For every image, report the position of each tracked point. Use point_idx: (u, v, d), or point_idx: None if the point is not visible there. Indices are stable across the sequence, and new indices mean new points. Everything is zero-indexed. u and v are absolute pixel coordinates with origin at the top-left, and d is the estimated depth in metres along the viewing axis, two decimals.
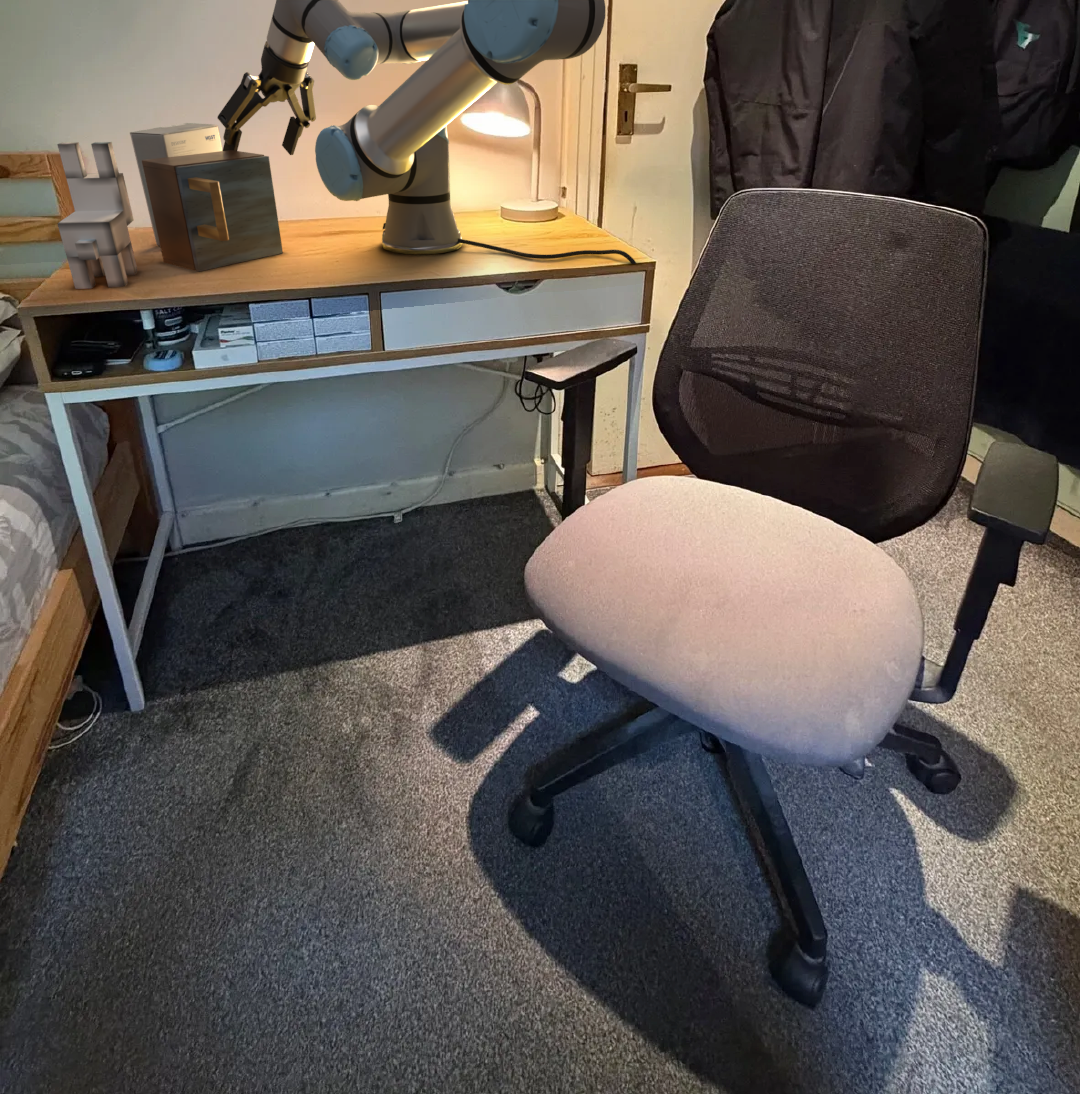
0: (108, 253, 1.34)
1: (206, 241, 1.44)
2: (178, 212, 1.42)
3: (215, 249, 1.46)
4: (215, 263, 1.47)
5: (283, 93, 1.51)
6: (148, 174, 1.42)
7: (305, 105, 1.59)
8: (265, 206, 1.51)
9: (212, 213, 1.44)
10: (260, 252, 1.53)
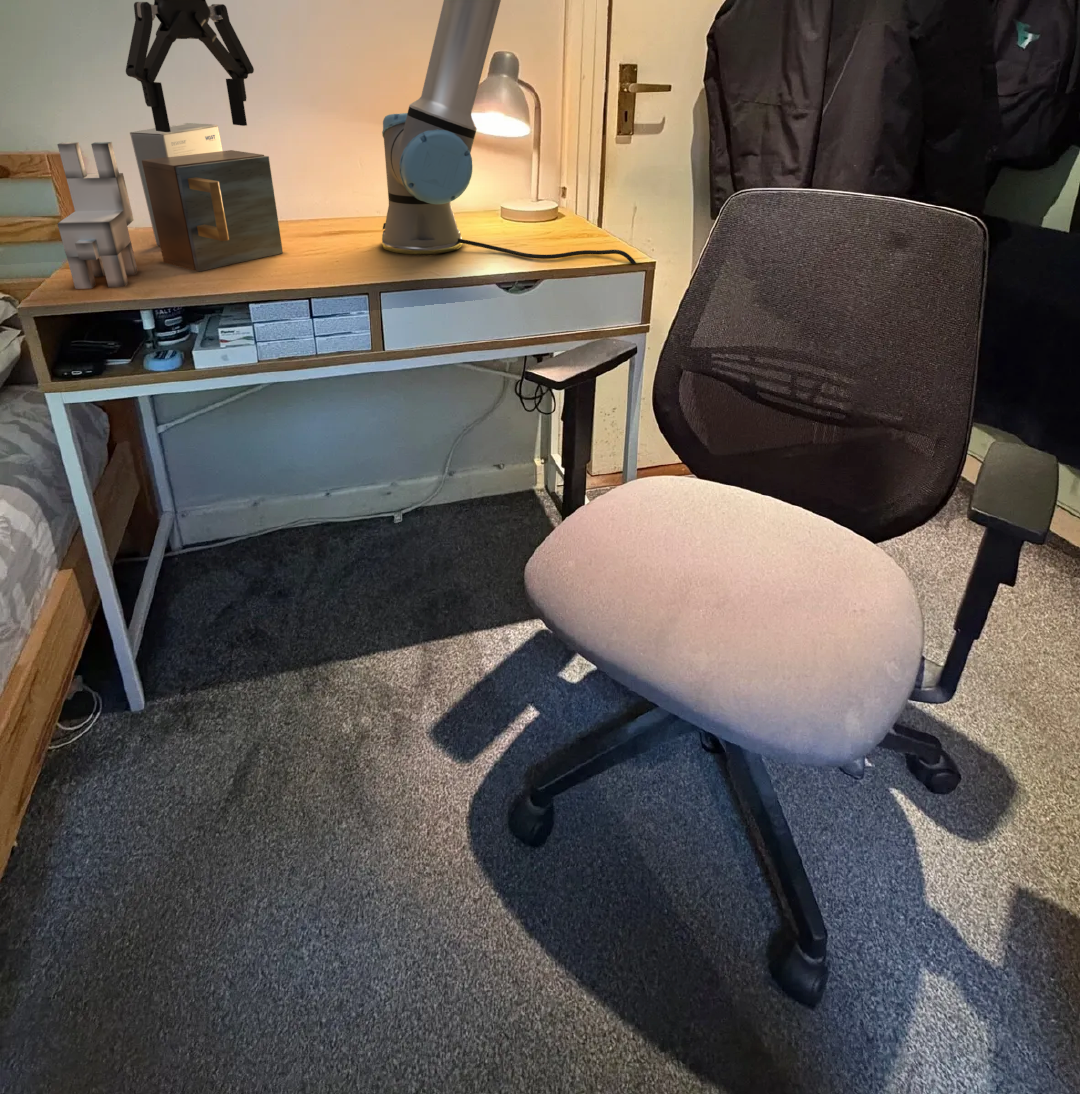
0: (108, 253, 1.34)
1: (206, 241, 1.44)
2: (178, 212, 1.42)
3: (215, 249, 1.46)
4: (215, 263, 1.47)
5: (193, 24, 1.24)
6: (148, 174, 1.42)
7: (234, 53, 1.32)
8: (265, 206, 1.51)
9: (212, 213, 1.44)
10: (260, 252, 1.53)
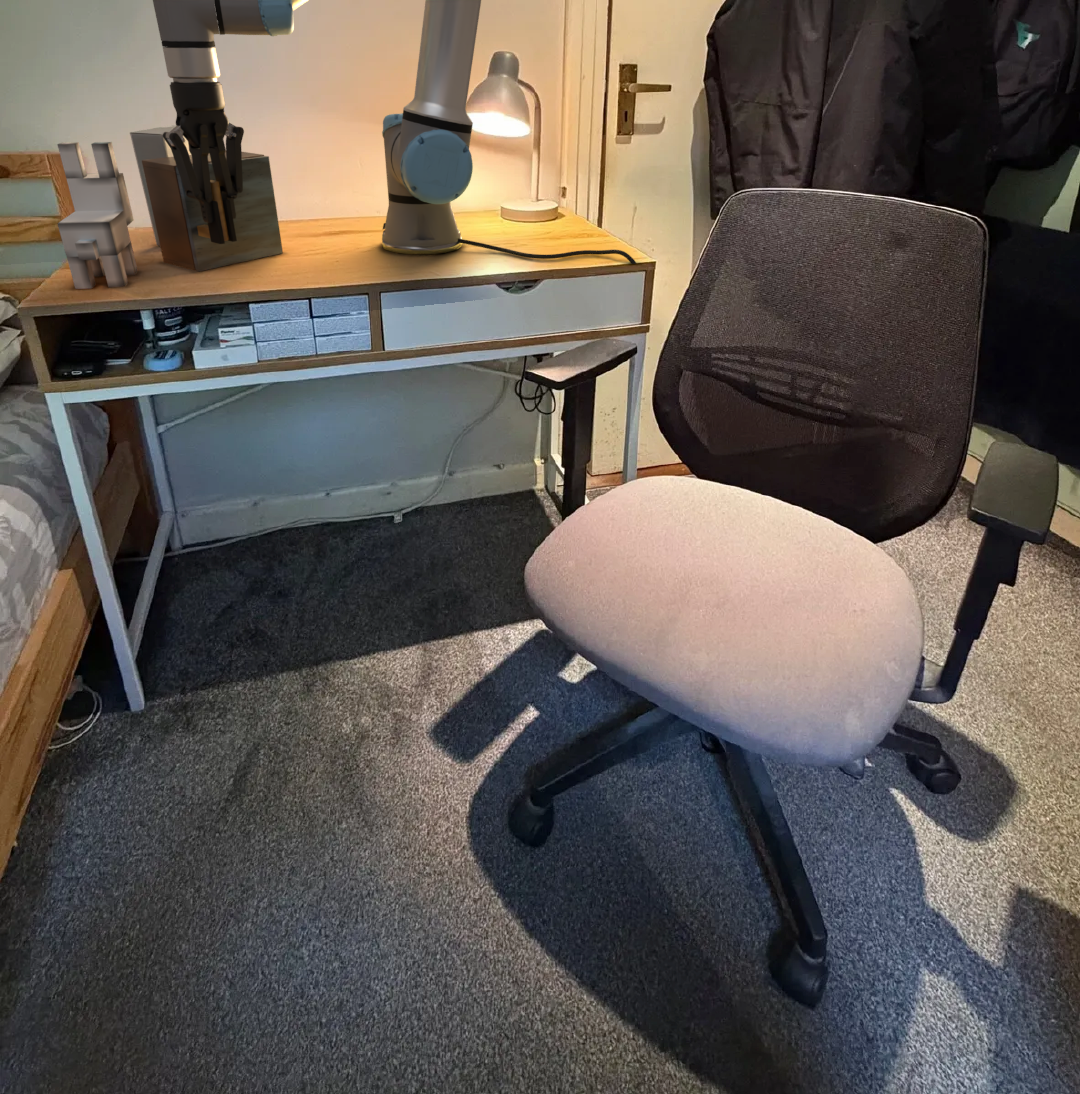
0: (108, 253, 1.34)
1: (206, 241, 1.44)
2: (178, 212, 1.42)
3: (215, 249, 1.46)
4: (215, 263, 1.47)
5: (213, 134, 1.32)
6: (148, 174, 1.42)
7: (231, 170, 1.37)
8: (265, 206, 1.51)
9: None
10: (260, 252, 1.53)
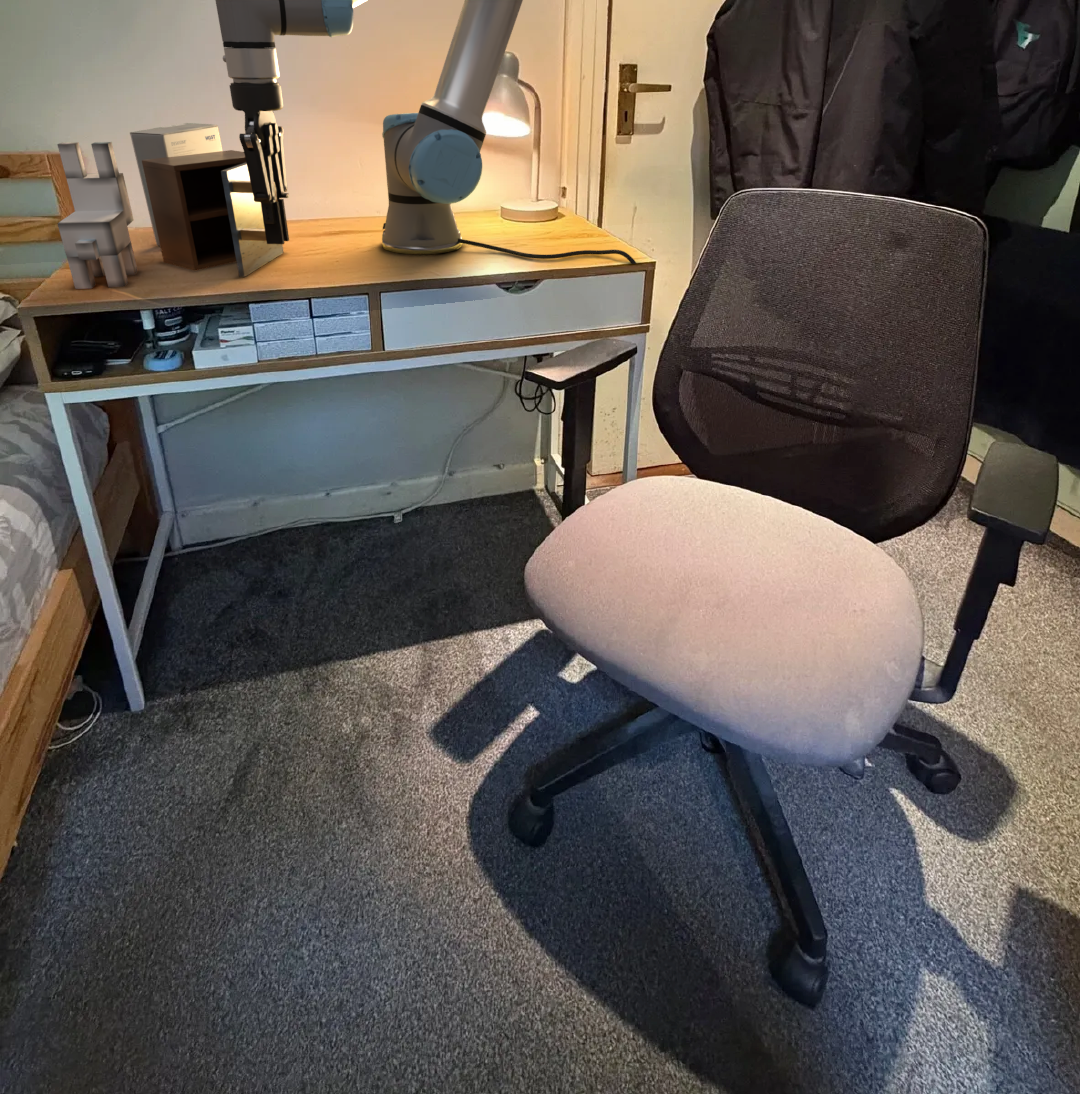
0: (108, 253, 1.34)
1: (246, 245, 1.42)
2: (178, 212, 1.42)
3: (251, 253, 1.44)
4: (252, 267, 1.45)
5: None
6: (148, 174, 1.42)
7: None
8: None
9: (246, 216, 1.42)
10: (273, 253, 1.53)
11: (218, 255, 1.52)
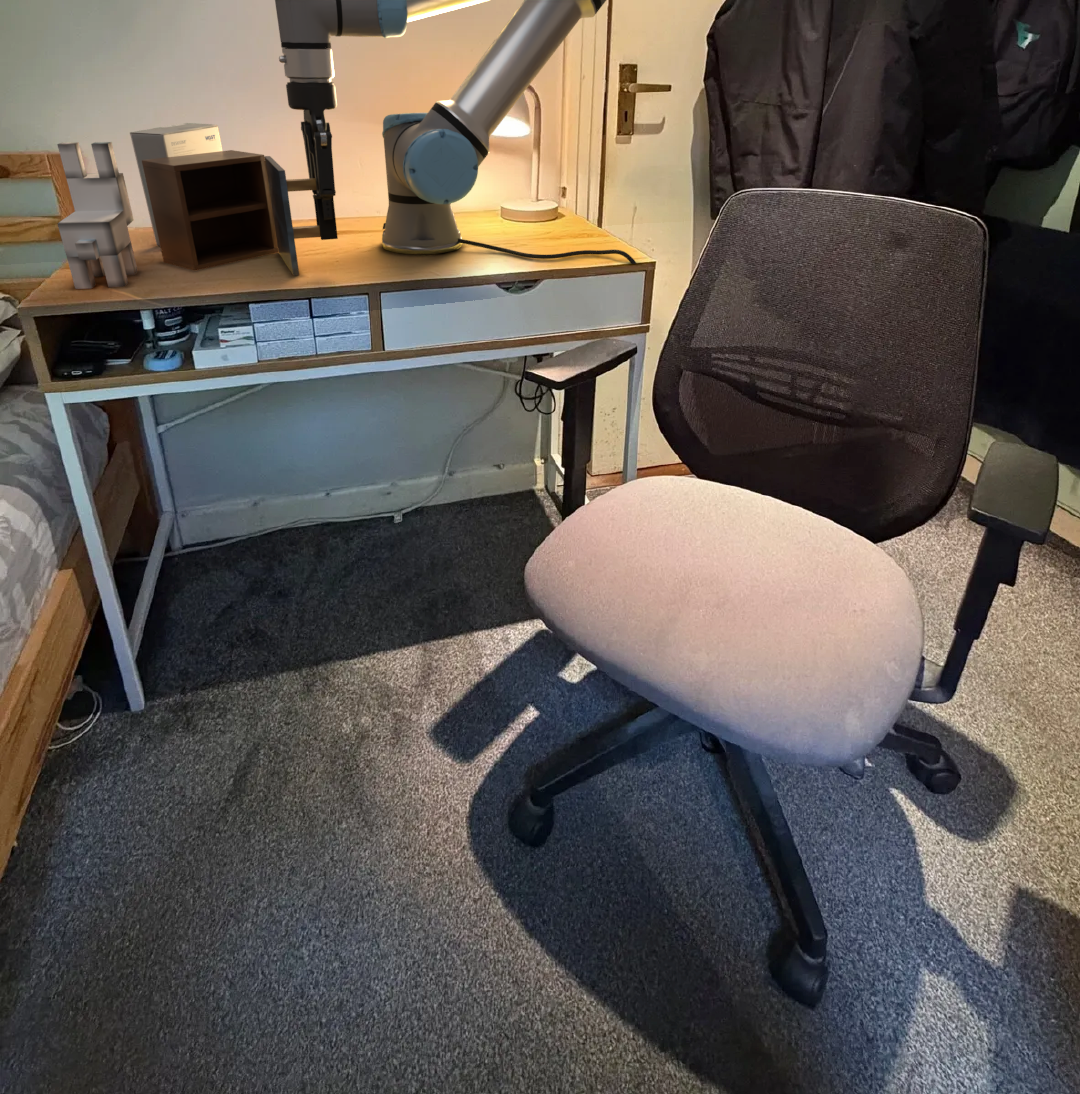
0: (108, 253, 1.34)
1: None
2: (178, 212, 1.42)
3: None
4: None
5: None
6: (148, 174, 1.42)
7: None
8: None
9: None
10: None
11: (218, 255, 1.52)
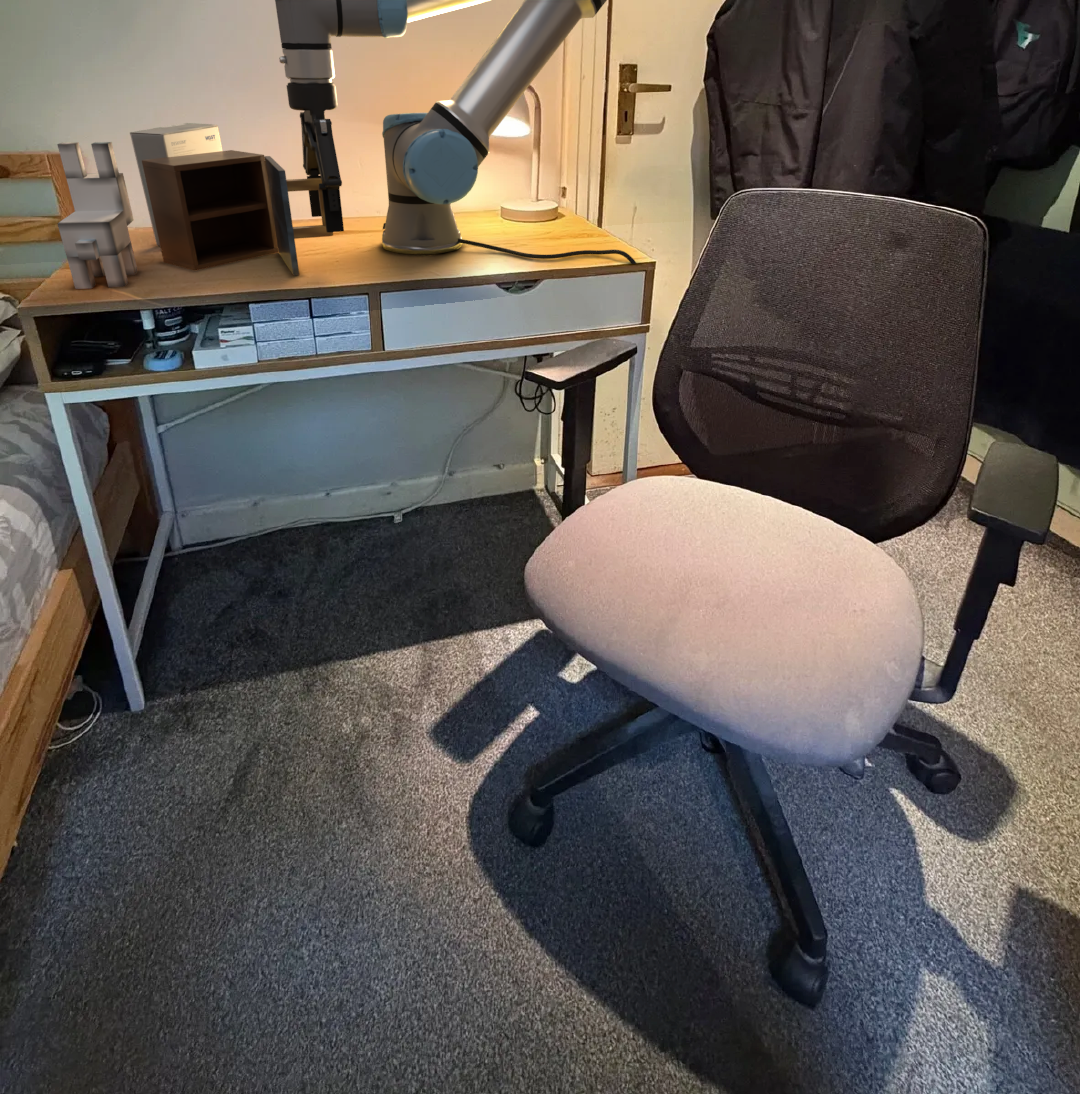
0: (108, 253, 1.34)
1: None
2: (178, 212, 1.42)
3: None
4: None
5: None
6: (148, 174, 1.42)
7: None
8: None
9: None
10: None
11: (218, 255, 1.52)
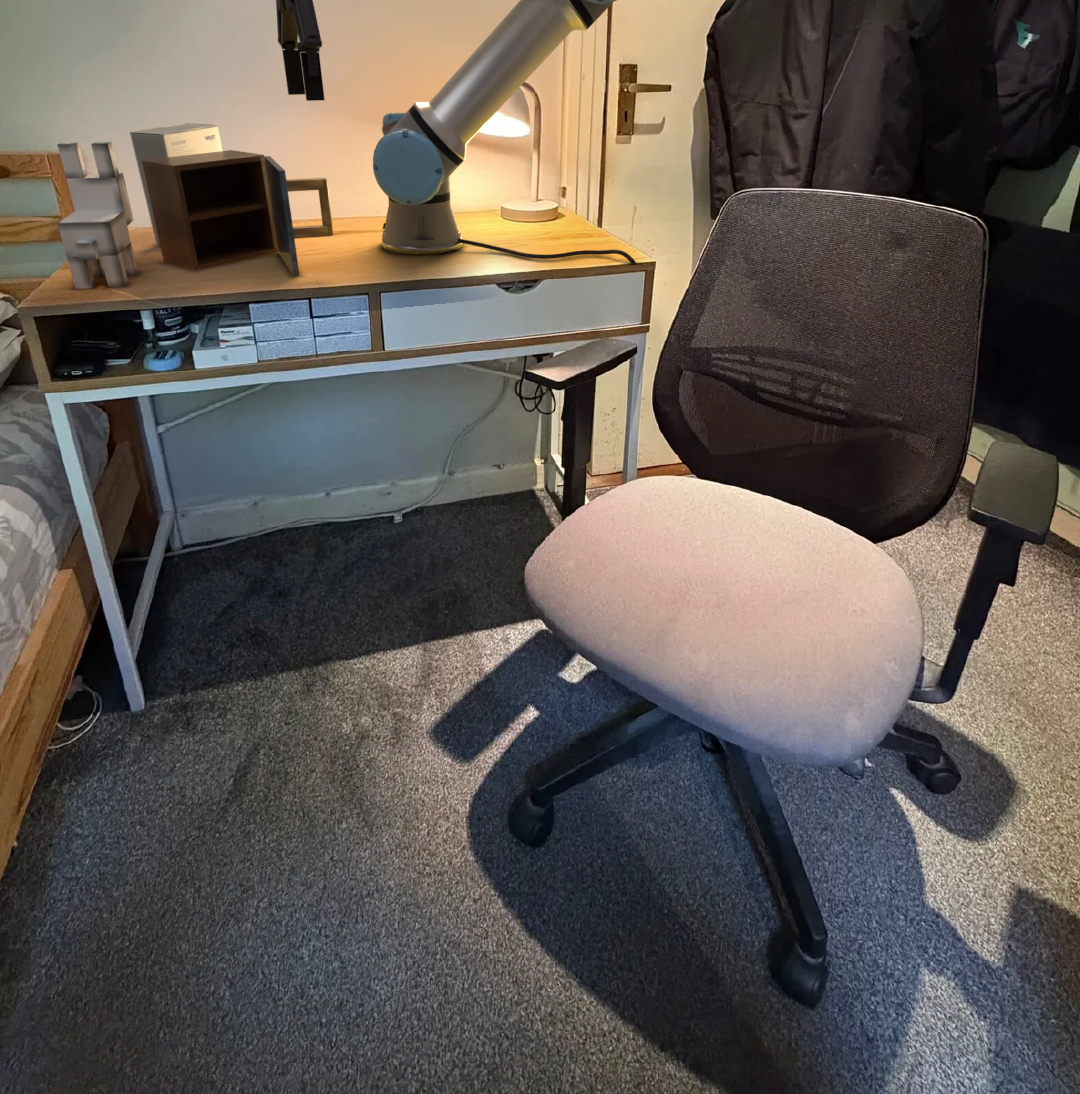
0: (108, 253, 1.34)
1: None
2: (178, 212, 1.42)
3: None
4: None
5: None
6: (148, 174, 1.42)
7: None
8: None
9: None
10: None
11: (218, 255, 1.52)
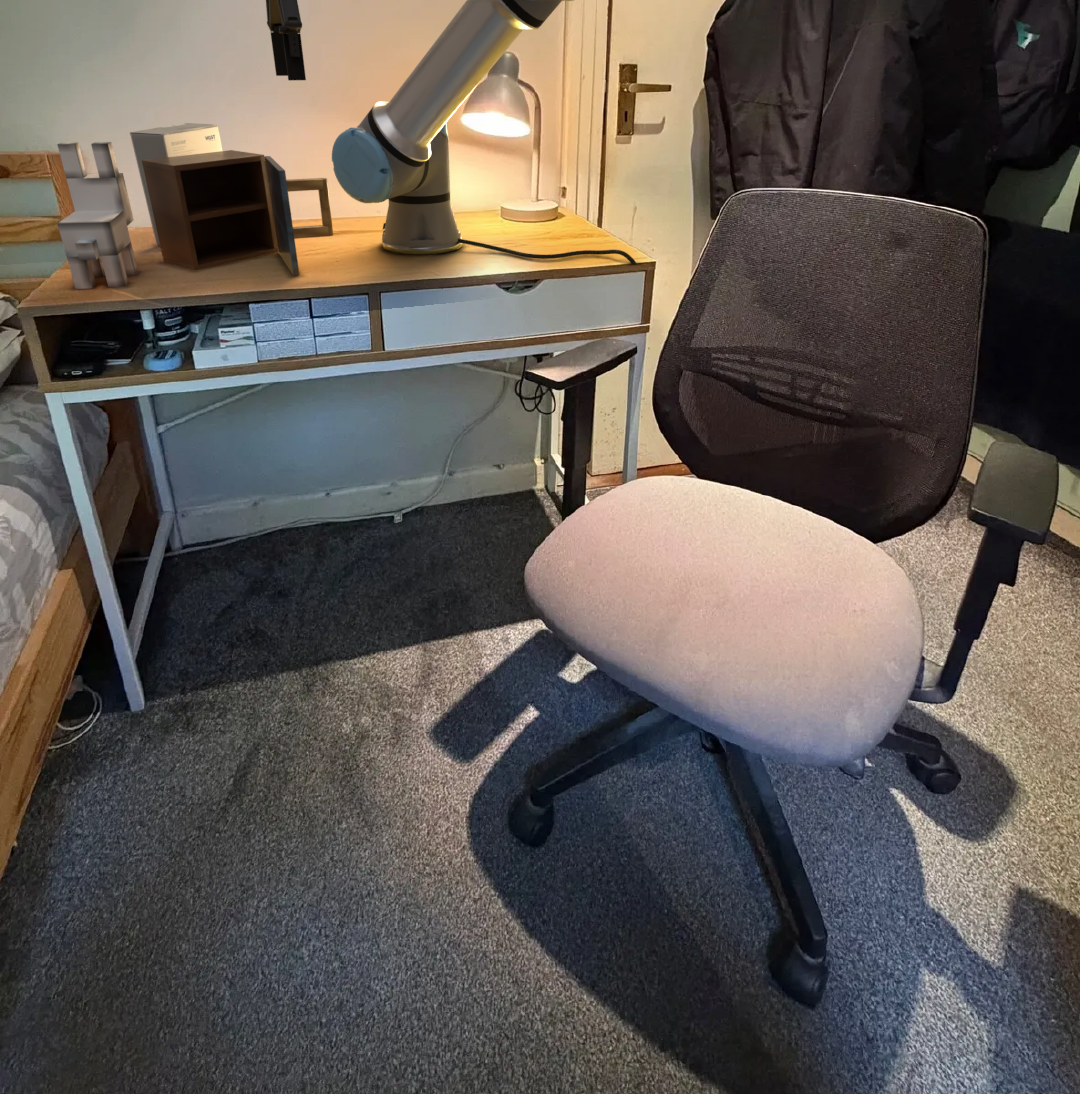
0: (108, 253, 1.34)
1: None
2: (178, 212, 1.42)
3: None
4: None
5: None
6: (148, 174, 1.42)
7: None
8: None
9: None
10: None
11: (218, 255, 1.52)
